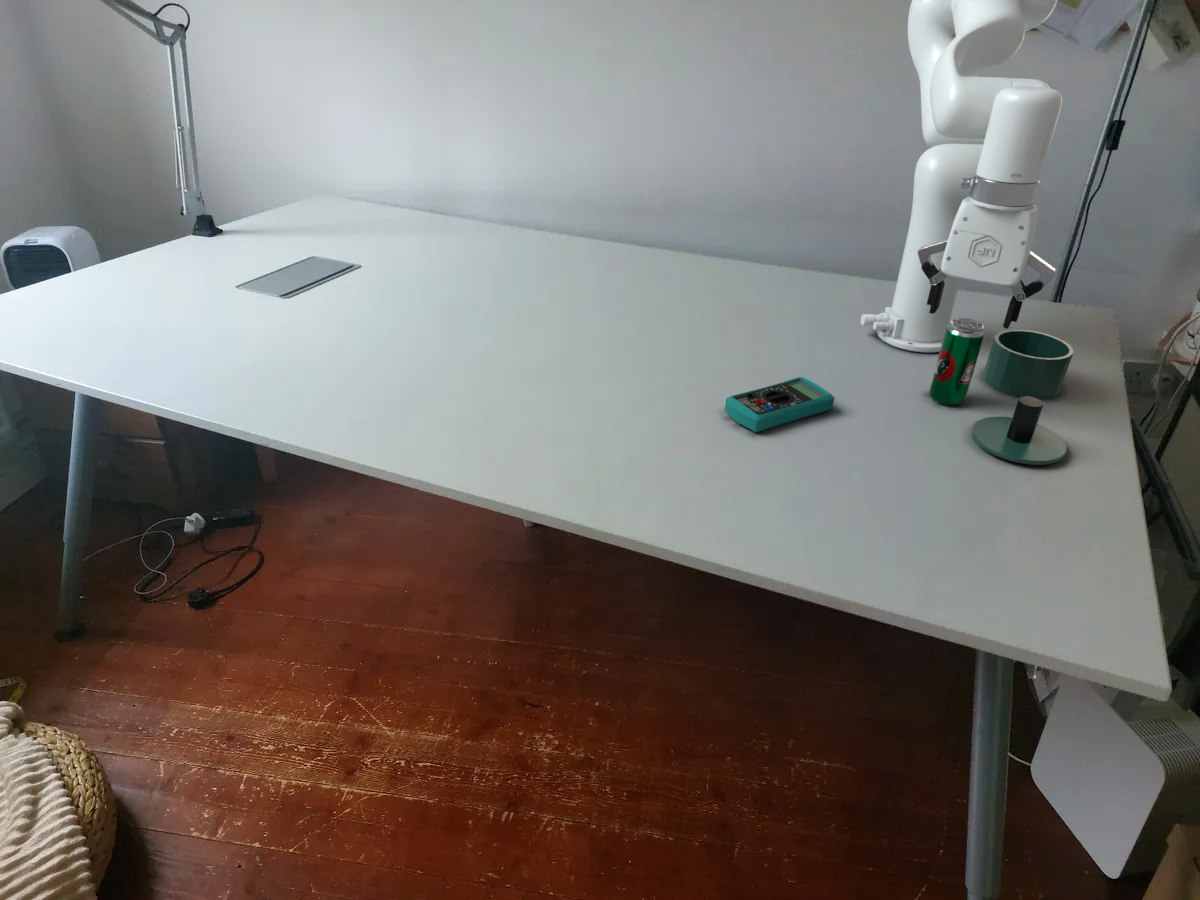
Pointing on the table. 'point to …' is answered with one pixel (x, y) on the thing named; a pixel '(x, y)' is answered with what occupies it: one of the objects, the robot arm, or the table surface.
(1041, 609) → the table surface
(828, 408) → the digital multimeter
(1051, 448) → the lid
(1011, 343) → the green round container
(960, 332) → the soda can
